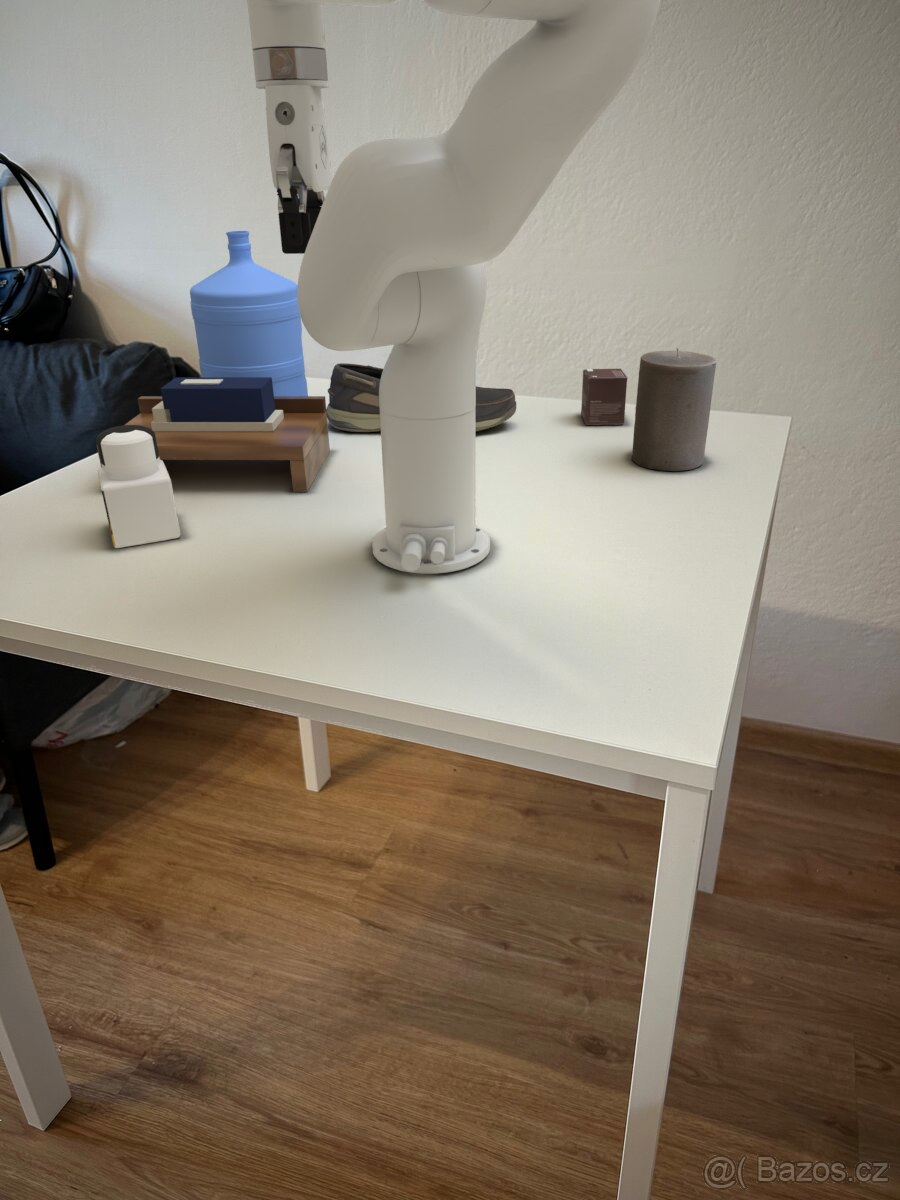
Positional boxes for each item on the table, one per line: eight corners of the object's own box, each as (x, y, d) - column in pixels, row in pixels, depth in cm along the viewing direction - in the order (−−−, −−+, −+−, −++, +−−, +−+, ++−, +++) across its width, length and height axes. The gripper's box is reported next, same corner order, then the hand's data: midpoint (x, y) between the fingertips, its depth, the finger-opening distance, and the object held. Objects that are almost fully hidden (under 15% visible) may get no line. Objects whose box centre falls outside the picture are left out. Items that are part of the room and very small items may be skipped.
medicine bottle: (109, 526, 100) (87, 425, 94) (173, 516, 102) (155, 416, 96) (114, 549, 94) (91, 443, 88) (181, 538, 96) (162, 434, 91)
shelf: (307, 492, 108) (301, 430, 105) (106, 491, 110) (92, 430, 106) (329, 451, 123) (325, 396, 119) (151, 451, 124) (141, 396, 120)
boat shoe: (517, 437, 127) (519, 363, 122) (321, 438, 128) (314, 366, 123) (514, 416, 137) (516, 347, 132) (331, 418, 138) (325, 349, 133)
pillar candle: (625, 467, 115) (635, 353, 108) (637, 445, 123) (647, 338, 116) (700, 475, 112) (715, 358, 105) (707, 452, 120) (722, 342, 113)
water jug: (281, 446, 125) (258, 238, 112) (188, 437, 130) (156, 236, 116) (328, 417, 138) (313, 227, 125) (242, 409, 143) (219, 226, 129)
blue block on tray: (283, 418, 116) (279, 375, 114) (273, 431, 111) (268, 386, 108) (168, 418, 117) (160, 375, 115) (152, 431, 112) (144, 387, 109)
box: (624, 425, 132) (628, 377, 128) (584, 426, 132) (587, 377, 128) (618, 414, 137) (621, 367, 134) (580, 414, 137) (582, 368, 134)
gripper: (310, 64, 82) (325, 257, 90) (340, 76, 97) (351, 240, 105) (232, 66, 82) (254, 257, 90) (275, 78, 97) (290, 241, 106)
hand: (306, 248), depth 98 cm, fingers open, 9 cm apart
